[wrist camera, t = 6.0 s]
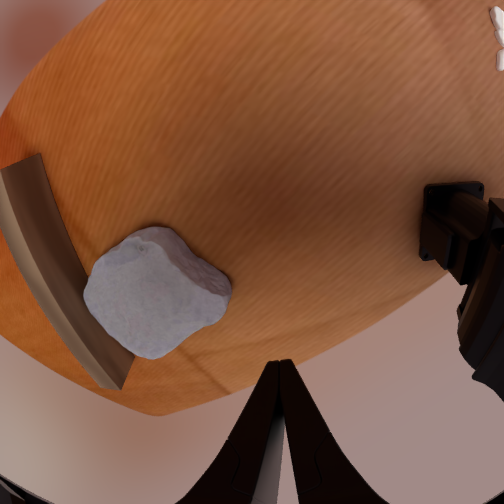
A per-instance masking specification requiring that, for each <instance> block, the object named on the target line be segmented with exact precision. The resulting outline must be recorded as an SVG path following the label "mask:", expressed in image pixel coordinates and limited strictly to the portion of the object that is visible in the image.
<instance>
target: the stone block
mask: <svg viewBox="0 0 504 504" xmlns="http://www.w3.org/2000/svg"><path fill="white" fill-rule="evenodd" d="M231 294H232V288H231V284H230V282H229V280H228V278H227V277H226V276H225V275H224V274H223V273H222V272H220V271H219V270H217V269H216V268H215V267H214V266H212V265H210V264H208V263H207V262H206V261H204V260H203V259H201V258H198V257H197V256H195V255H194V254H193V253H192V252H191V251H190V249H189V248H188V247H187V245H186V244H185V242H184V241H183V240H182V239H181V238H180V237H179V236H178V235H177V234H176V233H175V232H174V231H173V230H172V229H170V228H163V227H148V228H146V229H142V230H138V231H136V232H134V233H132V234H130V235H129V236H128V237H126V238H125V239H124V241H122V242H121V243H120V244H118V245H117V246H115V247H113V248H111V249H110V250H109V251H108V252H107V253H106V254H104V255H102V256H101V258H99V259H98V260H97V261H96V262H95V264H94V266H93V269H92V272H91V275H90V277H89V278H88V283H87V285H86V288H85V289H84V301H85V302H86V305H87V307H88V309H89V311H90V313H91V314H92V315H93V316H94V317H95V318H96V319H97V321H98V322H99V323H100V324H101V325H102V326H103V327H104V329H105V330H106V331H107V333H108V334H109V335H110V336H112V337H114V338H115V339H116V340H117V341H119V343H120V344H121V345H122V346H123V347H125V348H127V349H128V350H129V351H131V352H132V353H134V354H136V355H137V356H140V357H145V358H147V359H157V358H161V357H162V356H164V355H166V354H167V353H168V352H170V351H172V350H173V349H174V348H175V347H177V346H178V345H179V344H180V343H182V342H183V341H184V340H185V339H186V338H187V337H188V336H190V335H191V334H192V333H194V332H195V331H198V330H200V329H201V328H202V327H204V326H208V325H213V324H215V323H216V322H217V321H219V320H220V319H221V318H222V316H223V315H224V313H225V312H226V309H227V305H228V303H229V300H230V298H231Z"/></svg>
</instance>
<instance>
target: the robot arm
mask: <svg viewBox="0 0 504 504" xmlns="http://www.w3.org/2000/svg"><path fill="white" fill-rule="evenodd" d="M479 186H480V188H479ZM431 189H432V192H431V193H429V192H430V190H431ZM483 195H484V185H483V184H482V183H481V182H458V183H442V184H429V185H427V186H426V187H425V190H424V209H423V214H422V222H421V234H420V243H421V244H420V252H419V257H420V258H421V259H422V260H423V261H429V260H434V259H435V260H436V261H437V262H438V263H439V265H440V266H441V267H442V268H443V269H444V270H448V271H449V272H450V273H451V274H452V276H453V277H454V278H455V279H456V281H457V282H458V283H459V284H460V285H465V284H467V285H468V286H467V289H466V291H465V294H464V296H463V299H462V302H461V304H459V306H458V308H457V315H458V320H459V323H458V330H457V334H458V338H459V342H460V347H459V351H460V353H461V354H462V356H463V358H464V359H465V360H466V361H467V363H468V364H469V365H470V366H471V367H472V368H473V369H475V372H474V373H473V375H472V379H473V380H476V381H478V382H481V383H483V384H486V385H487V386H488V387H490V388H491V389H493V390H494V391H495V392H496V394H497V395H498V396H499V397H500V398H501V399H502V401H503V402H504V199H501V198H489V202H488V204H487V203H486V202H484V201H483ZM425 254H426V255H425ZM424 255H425V256H424ZM285 426H286V432H287V438H288V443H289V449H290V454H291V460H292V465H293V472H294V477H295V482H296V489H297V494H298V500H299V504H389V503H388V502H387V501H385V500H384V499H383V498H381V497H380V496H379V495H378V494H377V493H376V492H375V491H374V490H373V489H372V488H371V487H370V486H369V485H368V483H367V482H366V481H365V480H364V479H363V477H362V476H361V475H360V474H359V473H358V471H357V470H356V469H355V468H354V466H353V465H352V464H351V463H350V461H349V460H348V459H347V457H346V456H345V455H344V453H343V452H342V450H341V449H340V447H339V445H338V444H337V442H336V440H335V439H334V437H333V435H332V433H331V432H330V430H329V428H328V426H327V424H326V422H325V421H324V419H323V417H322V415H321V413H320V411H319V410H318V408H317V406H316V404H315V402H314V401H313V399H312V397H311V395H310V393H309V391H308V389H307V388H306V386H305V384H304V382H303V380H302V378H301V376H300V375H299V372H298V371H297V369H296V367H295V365H294V363H293V361H292V360H291V359H284V360H280V361H278V360H275V361H269V362H267V364H266V366H265V368H264V370H263V372H262V374H261V376H260V378H259V380H258V382H257V384H256V386H255V388H254V390H253V392H252V394H251V396H250V398H249V399H248V401H247V403H246V405H245V407H244V409H243V411H242V413H241V414H240V416H239V418H238V420H237V422H236V424H235V426H234V427H233V429H232V431H231V433H230V435H229V436H228V440H226V441H225V443H224V445H223V447H222V449H221V450H220V452H219V453H218V455H217V456H216V458H215V459H214V461H213V462H212V464H211V465H210V466H209V468H208V469H207V470H206V471H205V473H204V474H203V475H202V476H201V478H200V479H199V480H198V481H197V482H196V484H195V485H194V486H193V487H192V488H191V489H190V491H189V492H188V493H187V494H186V495H185V496H184V497H183V498H182V499H181V500H179V501H178V502H177V503H175V504H277V496H278V488H279V478H280V470H281V460H282V450H283V439H284V428H285ZM0 504H54V503H52V502H49V501H48V500H46V499H43V498H41V497H39V496H37V495H35V494H34V493H32V492H30V491H28V490H26V489H24V488H22V487H20V486H19V485H17V484H15V483H14V482H12V481H10V480H9V479H7V478H5V477H4V476H2V475H1V474H0ZM483 504H504V490H503V491H502V492H500V493H499V494H497V495H496V496H494V497H493V498H491V499H490V500H488V501H487V502H485V503H483Z"/></svg>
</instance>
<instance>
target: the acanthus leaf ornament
mask: <svg viewBox="0 0 504 504" xmlns="http://www.w3.org/2000/svg"><path fill="white" fill-rule="evenodd" d="M490 16H491V19H492V22H493V25H494V26H495V28H496V29H497V31H495V36H496V38H497V40H498V42H499V43H500V45H501V46H502V47H503V48H504V11H502V10H501V9H500V8H499V7H497V6H495V7H493V8H492V9H491V11H490ZM496 69H497V71H502V70H504V49H502V50H499V51H498V52H497V62H496Z"/></svg>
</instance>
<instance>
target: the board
mask: <svg viewBox="0 0 504 504" xmlns="http://www.w3.org/2000/svg"><path fill="white" fill-rule="evenodd" d="M0 228H1V230H2V233H3V235H4V237H5V240H6V242H7V244H8V247H9V249H10V251H11V253H12V255H13V257H14V260H15V262H16V264H17V266H18V268H19V270H20V272H21V274H22V276H23V277H24V279H25V281H26V283H27V285H28V287H29V288H30V290H31V292H32V294H33V295H34V297H35V299H36V301H37V302H38V304H39V306H40V307H41V309H42V310H43V312H44V314H45V315H46V317H47V318H48V320H49V321H50V323H51V324H52V326H53V327H54V329H55V330H56V332H57V333H58V335H59V336H60V337H61V339H62V340H63V342H64V343H65V344H66V346H67V347H68V348H69V350H70V351H71V352H72V354H73V355H74V356H75V357H76V359H77V360H78V361H79V363H80V364H81V365H82V366H83V367H84V369H85V370H86V371H87V372H88V373H89V375H90V376H91V377H92V378H93V379H94V380H95V382H96V383H97V384H98V385H99V386H100V387H101V388H106V389H113V390H120V391H121V389H122V387H123V384H124V382H125V380H126V377H127V375H128V372H129V370H130V367H131V365H132V363H133V360H134V358H135V356H134V355H133V354H132V352H131V351H129V350H128V349H127V348H125V347H123V346H122V345H121V344H120V343H119V341H117V340H116V339H115V338H114V337H112V336H110V335H109V334H108V333H107V331H106V330H105V329H104V327H103V326H102V325H101V324H100V323H99V322H98V321H97V319H96V318H95V317H94V316H93V315H92V314H91V313H90V311H89V309H88V307H87V305H86V302H85V301H84V289H85V288H86V285H87V283H88V277H87V275H86V273H85V271H84V269H83V267H82V265H81V263H80V261H79V259H78V256H77V254H76V252H75V250H74V248H73V245H72V243H71V241H70V238H69V236H68V234H67V231H66V229H65V226H64V224H63V221H62V219H61V216H60V214H59V211H58V208H57V206H56V203H55V200H54V197H53V194H52V191H51V188H50V185H49V182H48V179H47V176H46V172H45V169H44V166H43V162H42V159H41V155H40V153H39V154H37V155H34V156H31V157H29V158H26V159H24V160H21V161H19V162H17V163H14V164H12V165H10V166H7V167H5V168H3V169H1V170H0Z"/></svg>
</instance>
